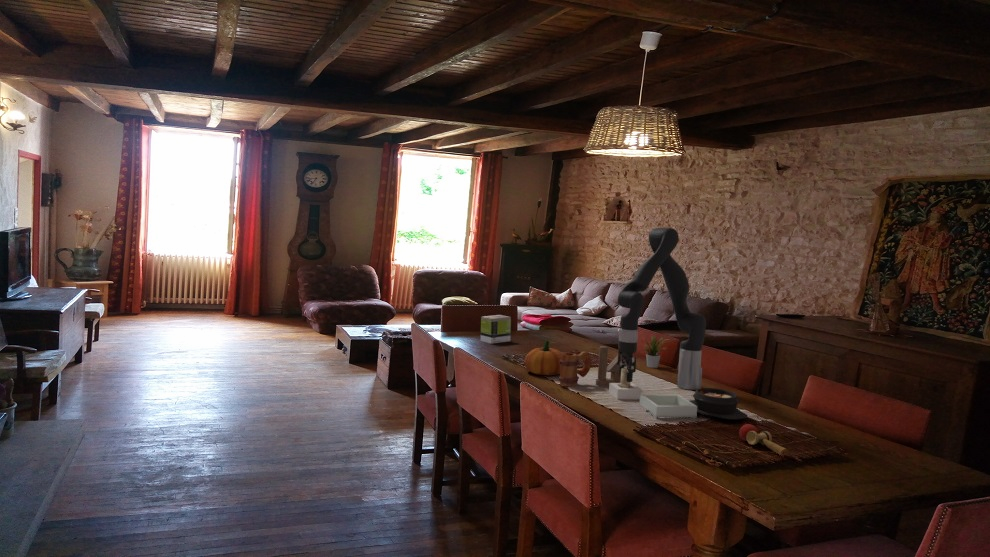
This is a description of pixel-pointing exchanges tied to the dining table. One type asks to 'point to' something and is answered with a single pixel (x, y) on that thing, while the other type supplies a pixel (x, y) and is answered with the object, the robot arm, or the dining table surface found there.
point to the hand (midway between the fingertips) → (625, 379)
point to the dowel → (624, 379)
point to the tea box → (495, 329)
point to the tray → (668, 406)
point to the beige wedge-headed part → (607, 369)
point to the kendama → (760, 438)
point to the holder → (624, 391)
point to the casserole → (717, 403)
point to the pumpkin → (544, 361)
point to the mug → (573, 368)
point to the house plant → (653, 352)
